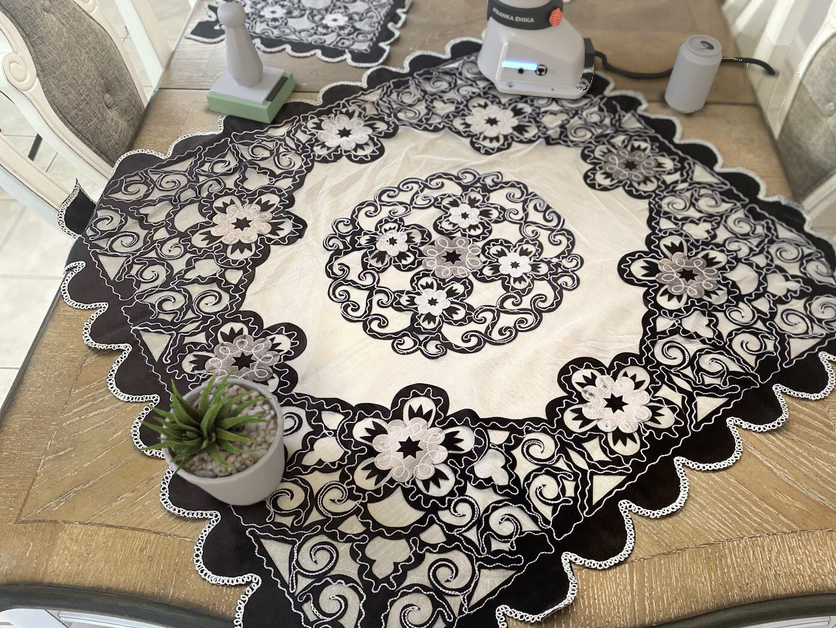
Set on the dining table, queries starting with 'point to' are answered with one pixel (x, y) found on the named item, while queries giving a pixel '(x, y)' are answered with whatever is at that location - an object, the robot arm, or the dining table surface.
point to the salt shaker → (239, 46)
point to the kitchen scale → (252, 95)
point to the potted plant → (225, 439)
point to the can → (693, 73)
